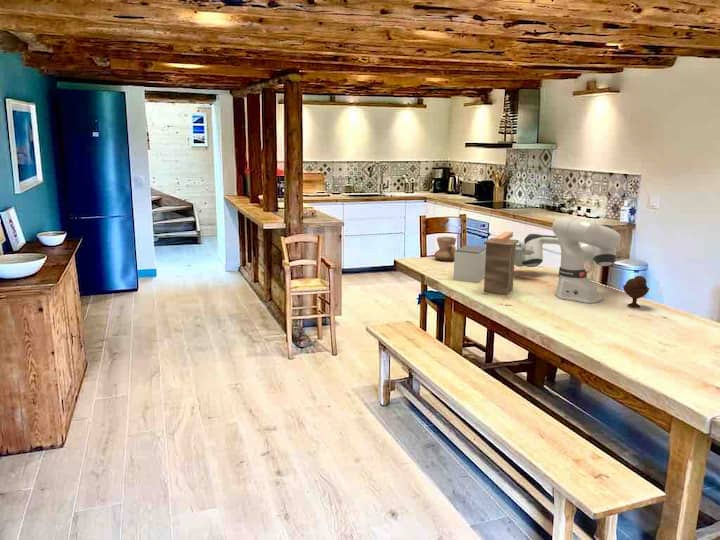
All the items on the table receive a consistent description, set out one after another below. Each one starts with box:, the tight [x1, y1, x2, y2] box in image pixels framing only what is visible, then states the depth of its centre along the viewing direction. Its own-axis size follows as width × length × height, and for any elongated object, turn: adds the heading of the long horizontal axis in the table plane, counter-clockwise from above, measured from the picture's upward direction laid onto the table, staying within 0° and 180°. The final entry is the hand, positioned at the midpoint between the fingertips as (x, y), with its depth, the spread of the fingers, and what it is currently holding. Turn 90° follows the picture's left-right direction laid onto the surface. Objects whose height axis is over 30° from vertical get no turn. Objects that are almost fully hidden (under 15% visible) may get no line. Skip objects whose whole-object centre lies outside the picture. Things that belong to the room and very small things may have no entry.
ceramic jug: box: [434, 236, 457, 262], centre depth 380 cm, size 18×14×14 cm
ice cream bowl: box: [622, 275, 650, 309], centre depth 281 cm, size 11×11×15 cm
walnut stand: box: [483, 237, 519, 296], centre depth 305 cm, size 14×14×26 cm
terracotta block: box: [493, 231, 514, 244], centre depth 306 cm, size 23×4×2 cm, turn 153°
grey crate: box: [452, 244, 486, 283], centre depth 333 cm, size 18×14×16 cm
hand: (511, 243), depth 324 cm, fingers open, 8 cm apart
